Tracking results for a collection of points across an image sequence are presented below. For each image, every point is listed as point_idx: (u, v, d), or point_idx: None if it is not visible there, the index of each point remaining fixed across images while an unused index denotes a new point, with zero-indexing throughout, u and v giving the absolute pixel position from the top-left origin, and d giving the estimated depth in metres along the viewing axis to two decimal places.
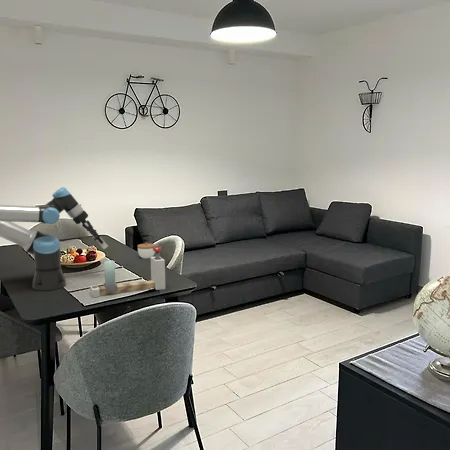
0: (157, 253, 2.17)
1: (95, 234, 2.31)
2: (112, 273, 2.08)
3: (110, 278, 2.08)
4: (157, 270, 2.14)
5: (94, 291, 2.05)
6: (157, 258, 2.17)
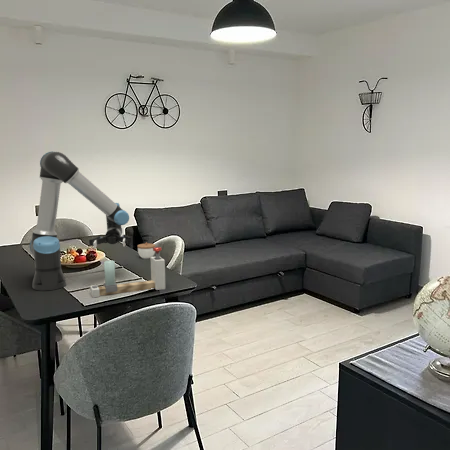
0: (157, 253, 2.17)
1: None
2: (112, 273, 2.08)
3: (110, 278, 2.08)
4: (157, 270, 2.14)
5: (94, 291, 2.05)
6: (157, 258, 2.17)
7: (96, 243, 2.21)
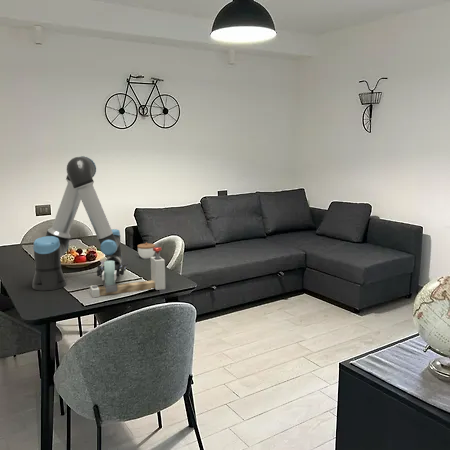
0: (157, 253, 2.17)
1: (123, 271, 2.15)
2: (112, 273, 2.08)
3: (110, 278, 2.08)
4: (157, 270, 2.14)
5: (94, 291, 2.05)
6: (157, 258, 2.17)
7: (104, 274, 2.09)
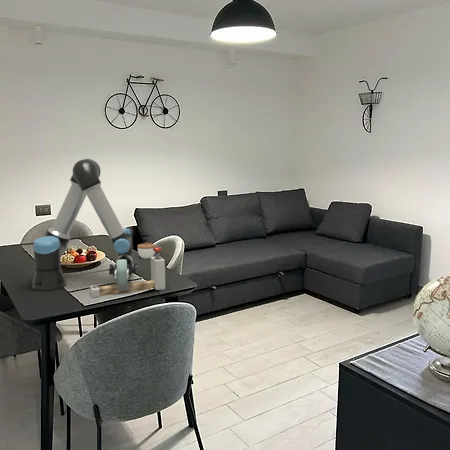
0: (157, 253, 2.17)
1: (135, 270, 2.17)
2: (124, 272, 2.11)
3: (123, 277, 2.10)
4: (157, 270, 2.14)
5: (94, 291, 2.05)
6: (157, 258, 2.17)
7: None
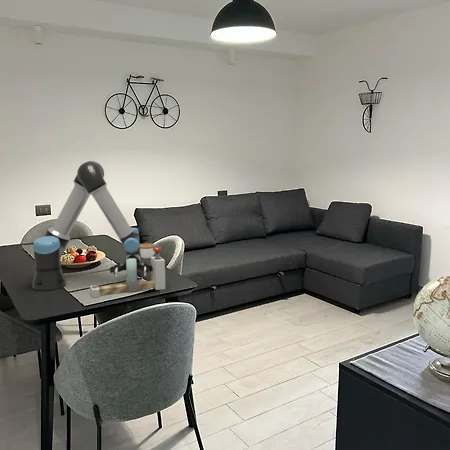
0: (157, 253, 2.17)
1: None
2: (134, 271, 2.12)
3: (132, 276, 2.12)
4: (157, 270, 2.14)
5: (94, 291, 2.05)
6: (157, 258, 2.17)
7: (117, 271, 2.15)
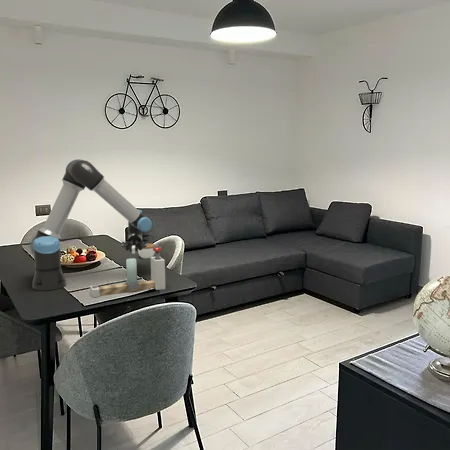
0: (157, 253, 2.17)
1: (142, 247, 2.30)
2: (134, 271, 2.12)
3: (132, 276, 2.12)
4: (157, 270, 2.14)
5: (94, 291, 2.05)
6: (157, 258, 2.17)
7: None
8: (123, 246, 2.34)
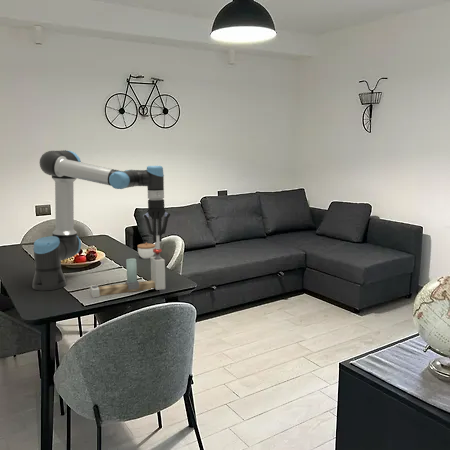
0: (157, 254, 2.17)
1: (148, 230, 2.14)
2: (134, 271, 2.12)
3: (132, 276, 2.12)
4: (157, 270, 2.14)
5: (94, 291, 2.05)
6: (157, 259, 2.17)
7: None
8: (168, 217, 2.17)
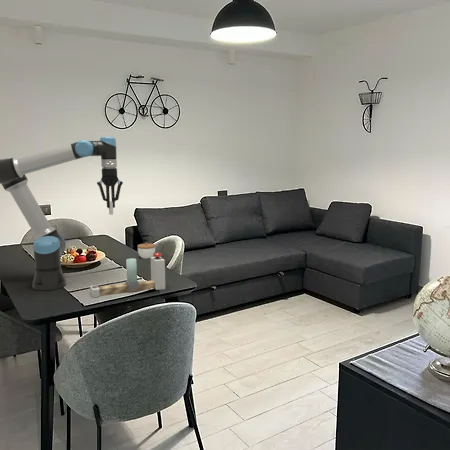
0: (157, 259, 2.17)
1: (102, 196, 2.32)
2: (134, 271, 2.12)
3: (132, 276, 2.12)
4: (157, 270, 2.14)
5: (94, 291, 2.05)
6: None
7: None
8: None
